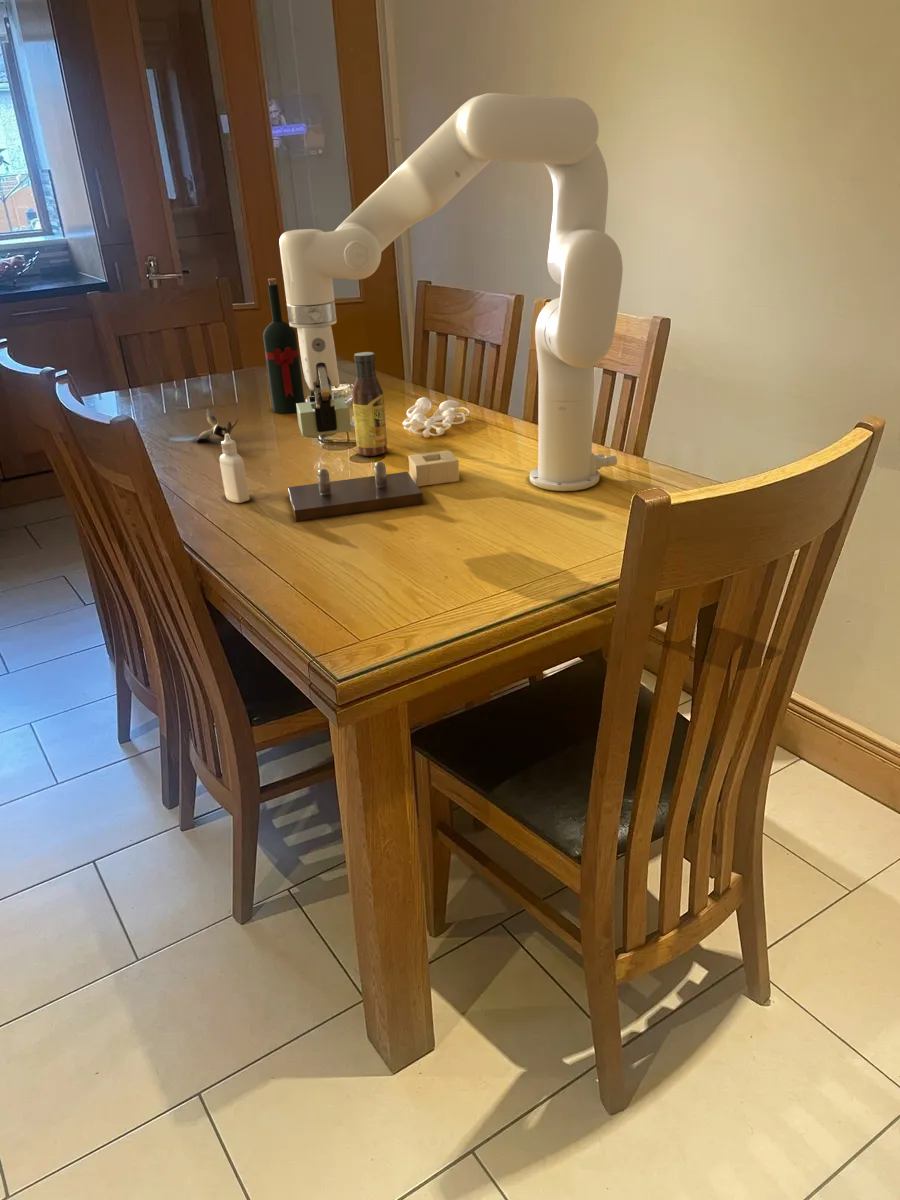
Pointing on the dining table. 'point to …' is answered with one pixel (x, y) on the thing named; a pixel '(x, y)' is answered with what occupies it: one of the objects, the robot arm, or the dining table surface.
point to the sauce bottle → (368, 407)
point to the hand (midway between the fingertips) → (324, 424)
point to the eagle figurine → (215, 427)
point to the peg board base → (353, 494)
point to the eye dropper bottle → (233, 472)
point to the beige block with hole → (433, 468)
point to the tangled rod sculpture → (422, 422)
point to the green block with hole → (309, 419)
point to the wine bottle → (282, 358)
